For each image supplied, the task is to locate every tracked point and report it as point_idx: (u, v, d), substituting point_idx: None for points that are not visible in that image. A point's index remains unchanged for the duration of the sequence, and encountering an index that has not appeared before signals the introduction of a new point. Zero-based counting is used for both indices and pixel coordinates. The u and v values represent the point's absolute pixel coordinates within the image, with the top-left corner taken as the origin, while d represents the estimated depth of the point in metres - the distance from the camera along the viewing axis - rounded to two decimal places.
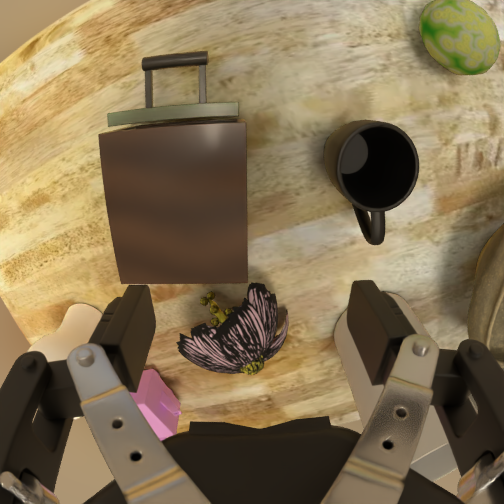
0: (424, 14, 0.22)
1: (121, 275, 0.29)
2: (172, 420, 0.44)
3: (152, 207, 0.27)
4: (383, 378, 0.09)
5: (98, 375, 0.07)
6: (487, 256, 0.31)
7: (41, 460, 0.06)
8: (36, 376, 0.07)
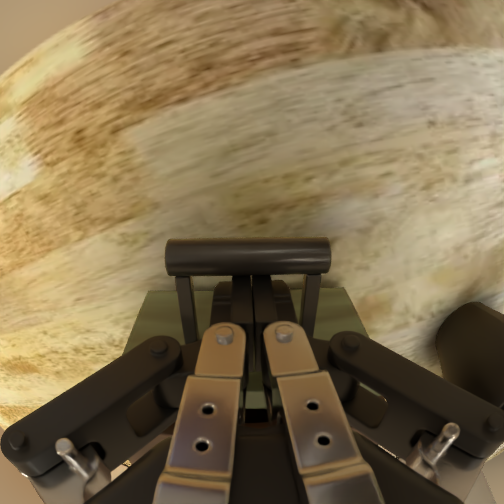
0: None
1: None
2: None
3: None
4: (261, 364, 0.10)
5: (225, 357, 0.08)
6: None
7: (120, 440, 0.07)
8: (159, 366, 0.08)
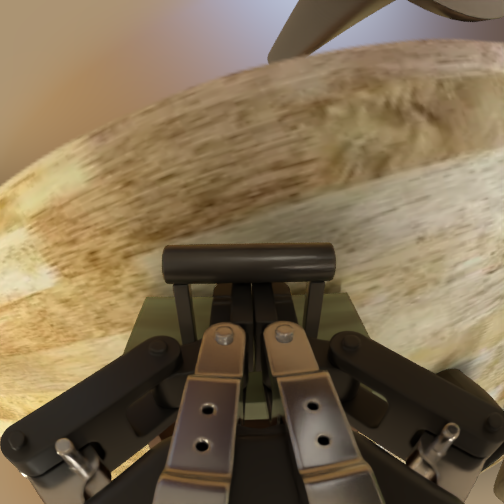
0: None
1: None
2: None
3: None
4: (261, 364, 0.10)
5: (225, 357, 0.08)
6: None
7: (120, 440, 0.07)
8: (159, 366, 0.08)
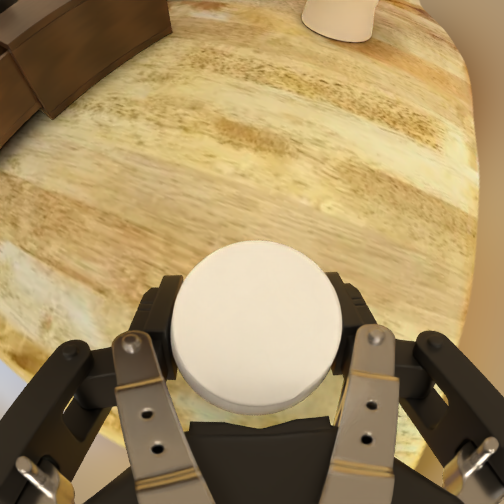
0: None
1: None
2: None
3: None
4: (342, 367, 0.10)
5: (140, 363, 0.08)
6: None
7: (66, 448, 0.06)
8: (76, 367, 0.07)
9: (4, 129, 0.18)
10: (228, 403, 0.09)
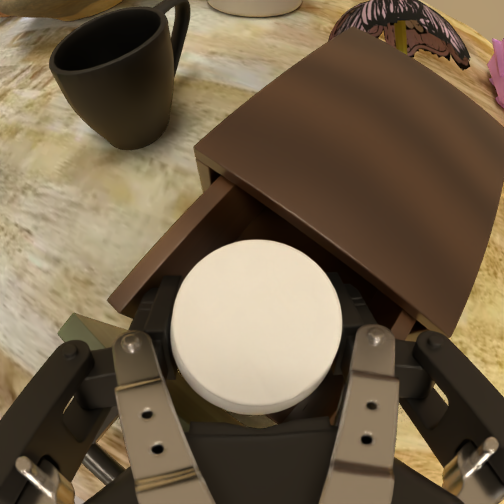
0: None
1: None
2: None
3: (430, 155, 0.13)
4: (342, 367, 0.10)
5: (140, 363, 0.08)
6: None
7: (65, 448, 0.06)
8: (76, 367, 0.07)
9: None
10: (228, 403, 0.08)
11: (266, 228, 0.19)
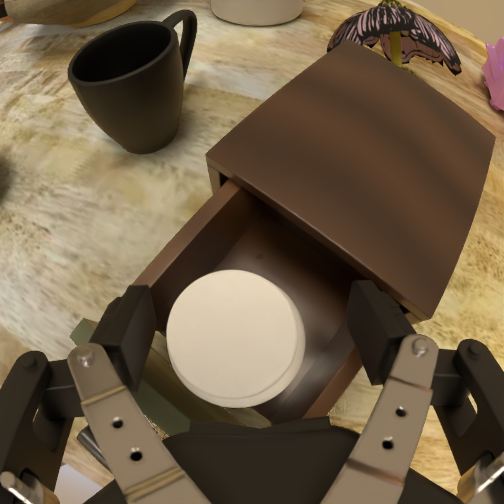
0: None
1: (492, 141, 0.16)
2: (498, 50, 0.26)
3: (414, 159, 0.15)
4: (382, 378, 0.09)
5: (99, 375, 0.07)
6: None
7: (41, 460, 0.06)
8: (37, 376, 0.07)
9: None
10: (212, 397, 0.11)
11: (258, 239, 0.21)
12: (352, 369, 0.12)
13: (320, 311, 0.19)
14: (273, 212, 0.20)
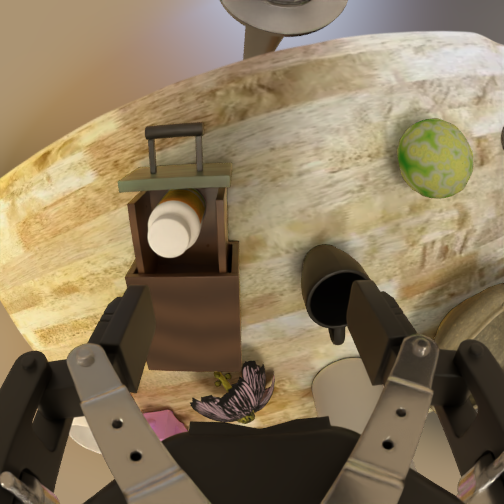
0: (403, 143, 0.32)
1: (149, 365, 0.39)
2: None
3: (171, 327, 0.36)
4: (383, 378, 0.09)
5: (98, 375, 0.07)
6: (436, 340, 0.41)
7: (41, 460, 0.06)
8: (37, 377, 0.07)
9: None
10: (162, 208, 0.30)
11: (214, 251, 0.40)
12: (135, 243, 0.33)
13: None
14: (216, 267, 0.40)
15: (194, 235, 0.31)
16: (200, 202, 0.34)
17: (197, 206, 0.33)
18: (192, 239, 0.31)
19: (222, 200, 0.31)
